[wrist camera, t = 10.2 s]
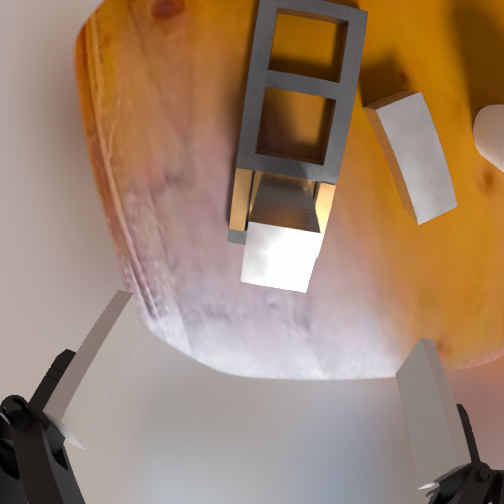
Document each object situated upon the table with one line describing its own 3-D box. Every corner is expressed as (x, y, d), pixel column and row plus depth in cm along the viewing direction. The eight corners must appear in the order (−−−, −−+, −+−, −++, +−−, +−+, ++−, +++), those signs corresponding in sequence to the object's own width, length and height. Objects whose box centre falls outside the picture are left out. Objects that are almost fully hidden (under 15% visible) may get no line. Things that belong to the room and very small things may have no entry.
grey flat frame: (263, -3, 19) (261, -10, 17) (362, 16, 19) (368, 11, 17) (230, 232, 31) (227, 242, 30) (315, 247, 31) (317, 257, 29)
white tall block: (261, 174, 28) (248, 221, 18) (308, 182, 28) (321, 233, 18) (255, 217, 30) (240, 281, 21) (299, 224, 30) (305, 291, 20)
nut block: (361, 107, 24) (375, 110, 20) (401, 90, 22) (420, 91, 19) (402, 206, 28) (418, 225, 24) (437, 190, 27) (457, 206, 23)
